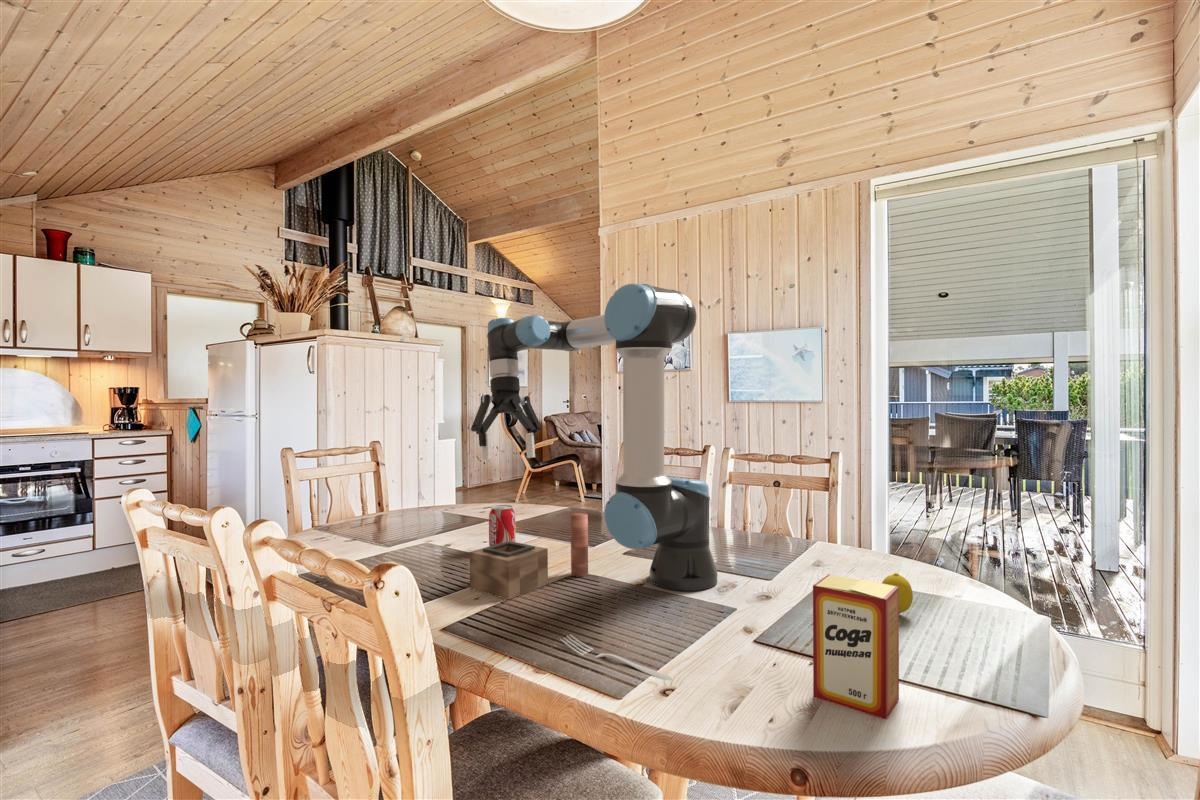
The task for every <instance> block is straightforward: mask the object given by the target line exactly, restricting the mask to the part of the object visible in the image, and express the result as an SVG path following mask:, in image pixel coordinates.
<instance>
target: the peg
mask: <svg viewBox="0 0 1200 800" xmlns="http://www.w3.org/2000/svg"><path fill="white" fill-rule="evenodd" d="M588 518H589V514H587V513H586V512H585V513H584V512H576V513H575V512H574V513H571V514H570V575H571V576H572V577H574V576H576V577H577V578H581V577H580V576H584V577H587V576H588V575H589V519H588ZM586 575H587V576H586Z"/></svg>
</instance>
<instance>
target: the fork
mask: <svg viewBox="0 0 1200 800" xmlns="http://www.w3.org/2000/svg"><path fill="white" fill-rule="evenodd" d="M562 638H563V639H562ZM562 638H560V642H562V643H563V644H564V645H566V647H568V648H569V649H571V650H573V652H575V653H576V654H578V655H581V656H584V654H585V655H586V654H588V653H589V652H592V651H593V650H594V648H592V647H590V646H588V645H587V644H586V643H584V642H582V641H580V640H579V639H577V638H576V637H575V636H573V635H571V634H569V636H568V635H566V637H562ZM568 639H569V640H570V641H569V640H568ZM604 657H609V658H614V659H615V660H618V661H619V662H622V663H624V664H626V665H628V666H630V667H632V668H634V669H636V670H638V671H640V672H642V673H644V674H646V675H648V676H649V675H650V676H652V677H654V678H657V679H660V680H663V681H674V678H673V677H672V676H670V675H667V674H666V673H662V672H659V671H658V670H657V671H656V670H654V669H651V668H649V667H647V666H644V665H639V664H638V663H635V662H633V661H631V660H628V659H626V658H623V657H622V656H619V655H616V654H612V653H603V652H600V653H598V655H595V656H594V659H599V658H600V659H601V658H604Z"/></svg>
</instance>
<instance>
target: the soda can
mask: <svg viewBox="0 0 1200 800" xmlns="http://www.w3.org/2000/svg"><path fill="white" fill-rule="evenodd" d="M513 508H514V506H513V505H510V504H497V505H492V506H491V507H490V509H491V510H490V511H489V514H488V544H489V546H493V545H497V544H500V543H504V542H507V541H512V542H516V537H517V536H516V512H515V510H514V509H513ZM489 546H488V547H489Z"/></svg>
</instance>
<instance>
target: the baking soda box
mask: <svg viewBox="0 0 1200 800" xmlns="http://www.w3.org/2000/svg"><path fill="white" fill-rule="evenodd" d="M899 615H900V614H899V587H897V586H892V585H887V584H882V582H878V581H877V582H876V581H872V580H866V579H857V578H851V577H847V576H841V575H834V574H830V573H829V574H827V575H825V576H824V577H823V578H821V579H819V580H818V581H816V582H815V583H814V584H813V585H812V634H813V635H812V646H813V647H812V661H813V663H812V665H813V666H812V667H813V668H812V669H813V670H812V674H813V675H812V678H813V679H812V682H813V683H812V684H813V688H812V690H813V694H812V695H813V698H816V699H819V700H822V701H825V702H829V703H831V704H832V703H833V704H835V705H838V706H842V707H845V708H848V709H851V710H854V711H857V712H860V713H864V714H867V715H870V716H874V717H876V718H880V719H882V720H887V719H888V718H889V716H890V714H891V713H892V711H893V710H894V708H895V707H896V705H897V704H898V703H899V700H900V670H899V669H900V666H899V665H900V658H899V657H900V656H899V655H900V653H899V652H900V649H899V648H900V647H899V646H900V643H899V642H900V640H899V637H900V634H899V633H900V631H899V629H900V626H899V625H900V624H899V623H900V621H899V619H900V616H899Z"/></svg>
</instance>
